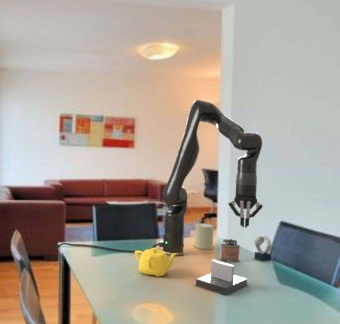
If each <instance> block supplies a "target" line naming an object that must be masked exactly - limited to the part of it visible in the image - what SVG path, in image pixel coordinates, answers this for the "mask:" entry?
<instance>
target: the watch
mask: <svg viewBox="0 0 340 324" xmlns="http://www.w3.org/2000/svg"><path fill="white" fill-rule="evenodd" d="M265 241H266V243H267V244H266V247H265V249H264V250H262V248H261V246H262V244H264V242H265ZM253 242H254V246H255V249H256V250H257V251H255V252H254V259H255V260H257V261H260V262H266V261H267V262H268V261H272V253H270V251H271V249H272V241H271V239H270V237H268V236H266V235H258V236H257V237H255V239H254V241H253Z"/></svg>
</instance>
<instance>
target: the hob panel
mask: <svg viewBox="0 0 340 324" xmlns="http://www.w3.org/2000/svg"><path fill="white" fill-rule="evenodd" d="M247 285H248V278H246V277H242V276H240V275H235V274H234V280H233V282H229V281H225V280H222V279H219V278H215V277H212V276H211V273H209V274H208V273H206V275H204V276H200V277H198V278H196V279H195V286H196V287H200V288H201V289H205V290H208V291H211V292H214V293H218V294H221V295H224V296H227V295H229V294H231V293H233V292H235V291H237V290H240V289H242V288H243V287H246V286H247Z"/></svg>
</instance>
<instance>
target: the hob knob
mask: <svg viewBox="0 0 340 324" xmlns="http://www.w3.org/2000/svg"><path fill="white" fill-rule="evenodd" d="M210 274H211V276H212V277H215V278H219V279H222V280H225V281H229V282H233V280H234V275H235V265H233V264H230V263H226V262H224V261H218V260H216V259H212V260H210Z"/></svg>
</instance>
